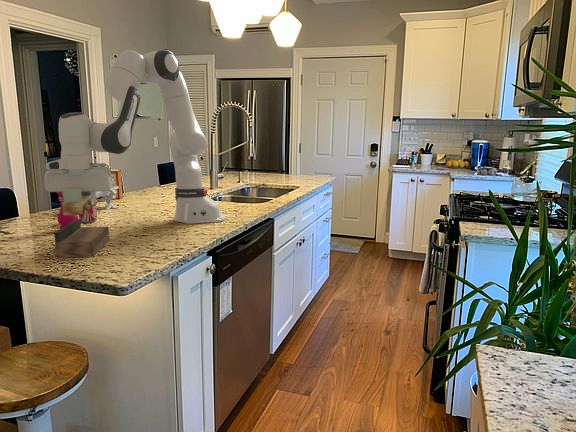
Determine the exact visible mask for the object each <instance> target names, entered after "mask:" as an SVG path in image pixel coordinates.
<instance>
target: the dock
mask: <svg viewBox="0 0 576 432" xmlns="http://www.w3.org/2000/svg"><path fill="white" fill-rule="evenodd" d="M81 226H82V225H81V221H80V219H79V218H78V219H75V220H74V221H72V222H70V223H69V224H67V225H66V226H64V227H63V228H61V229H60V228H59V230H57V231H54V234H53V235H54V242H55V245H54V246H55V253H56V254H55V255H56V258H83V257H84V258H86V257H87V258H88V257H89V258H90V257H94V256H95V255H96V254H98V252H99V251H101V249H102V248H103V247H104V246H105V245H106V244H107V243H108V242H109V241H110V231H109V230H110V229H109V228H110V227H109V226H82V227H81Z"/></svg>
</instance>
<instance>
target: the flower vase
mask: <svg viewBox="0 0 576 432" xmlns="http://www.w3.org/2000/svg"><path fill="white" fill-rule="evenodd" d="M111 177H112V176H110V178H111ZM114 182H115V181H114V179H112V181H111V183H112V188H111V189H110V190H109V191H108V192H107V191H96V192H97V194H96V199H98V198H100V199H99V202H100V203H104V202H105V203H106V205H105V206H103V207H102V209H105V210H109V209H111V208H112V209H117V208H118V206H119V205H118V206H117V205H115V204H113V203H111V201H112V199H115V198H116V197H115V196H113V195H114V194H116V193H117V190H115V189H118V188H119V187H118V186H117V185H114ZM112 191H113V192H112ZM102 197H103V198H102ZM110 199H111V200H110Z"/></svg>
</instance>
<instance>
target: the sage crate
mask: <svg viewBox="0 0 576 432" xmlns="http://www.w3.org/2000/svg"><path fill="white" fill-rule="evenodd" d="M63 193H64V202H79V201H81V200H82V194H81V188H66V189H64V190H63Z"/></svg>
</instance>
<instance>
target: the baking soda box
mask: <svg viewBox="0 0 576 432" xmlns="http://www.w3.org/2000/svg"><path fill="white" fill-rule="evenodd" d="M110 176H112V177H111V181H112V179H114V181H115V182H114V185H117V186H118V187H119V188H118V189H115V190H117V193H116V194H114V195H113V196H115V197H116V198H115V199H112V200H115V201H116V200H117V201H118V200H121V199H123V198H124V193H123V181H122V180H123V179H122V170H121V169H111V175H110ZM107 192H108V191H107ZM112 192H113V191H112ZM102 198H103V197H101V199H102ZM112 200H111V199H110V201H112Z"/></svg>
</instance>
